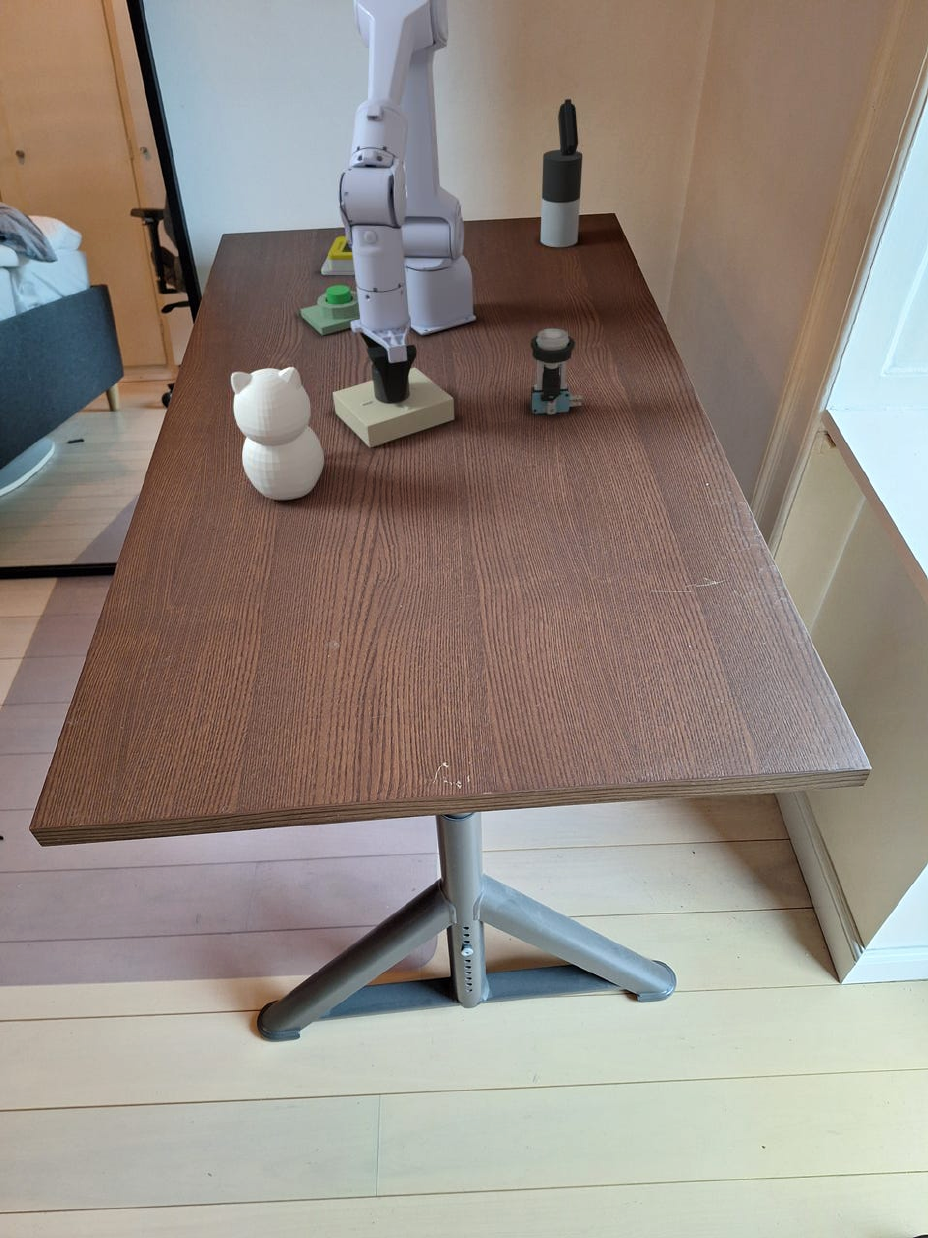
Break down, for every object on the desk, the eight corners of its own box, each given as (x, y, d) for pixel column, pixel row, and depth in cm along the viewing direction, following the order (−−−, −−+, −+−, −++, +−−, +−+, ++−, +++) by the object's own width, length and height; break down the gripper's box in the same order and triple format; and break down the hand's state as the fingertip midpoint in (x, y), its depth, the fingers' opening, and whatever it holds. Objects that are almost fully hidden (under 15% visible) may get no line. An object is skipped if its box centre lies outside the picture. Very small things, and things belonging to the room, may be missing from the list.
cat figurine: (247, 515, 94) (216, 392, 84) (252, 455, 103) (225, 337, 93) (328, 507, 95) (307, 384, 84) (326, 447, 104) (307, 330, 93)
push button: (578, 397, 111) (583, 323, 104) (583, 418, 107) (589, 343, 100) (527, 399, 111) (528, 325, 104) (530, 420, 107) (532, 345, 100)
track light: (540, 259, 154) (555, 202, 134) (533, 167, 154) (547, 97, 134) (576, 257, 154) (596, 200, 134) (569, 166, 155) (588, 94, 135)
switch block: (359, 301, 135) (357, 282, 133) (382, 318, 130) (380, 299, 128) (301, 316, 132) (298, 297, 130) (322, 335, 127) (319, 315, 125)
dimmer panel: (416, 387, 114) (415, 365, 112) (454, 419, 108) (453, 396, 106) (335, 413, 110) (332, 391, 108) (369, 448, 103) (367, 425, 101)
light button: (345, 294, 131) (343, 283, 130) (355, 302, 129) (354, 290, 127) (323, 300, 130) (322, 288, 128) (333, 308, 127) (332, 296, 126)
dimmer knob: (379, 385, 109) (375, 353, 106) (413, 387, 108) (410, 355, 105) (371, 402, 105) (367, 370, 102) (406, 404, 105) (403, 372, 102)
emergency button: (327, 228, 147) (413, 227, 146) (330, 254, 150) (415, 254, 149) (316, 248, 141) (406, 247, 139) (320, 274, 144) (408, 274, 142)
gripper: (336, 263, 101) (350, 369, 111) (357, 312, 91) (370, 424, 101) (394, 256, 103) (403, 361, 112) (421, 303, 92) (428, 414, 102)
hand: (391, 390), depth 106 cm, fingers closed on dimmer knob, 4 cm apart
